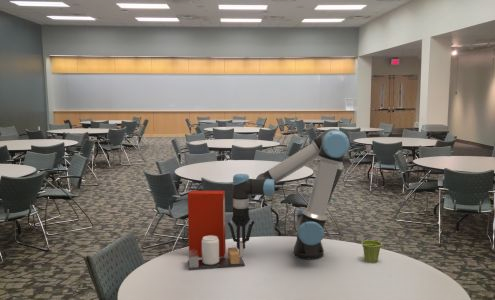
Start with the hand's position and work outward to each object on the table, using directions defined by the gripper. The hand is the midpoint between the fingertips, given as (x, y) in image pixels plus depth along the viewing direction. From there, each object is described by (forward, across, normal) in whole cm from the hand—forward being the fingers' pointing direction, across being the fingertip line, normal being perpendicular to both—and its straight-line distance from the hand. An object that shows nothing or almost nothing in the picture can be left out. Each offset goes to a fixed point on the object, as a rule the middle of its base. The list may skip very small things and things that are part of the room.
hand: (240, 255), depth 222 cm
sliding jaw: (+2, +4, 0) cm, 4 cm away
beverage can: (+3, +14, 0) cm, 15 cm away
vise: (+4, +12, 0) cm, 13 cm away
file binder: (+4, +15, -15) cm, 21 cm away
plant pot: (+3, -62, +9) cm, 63 cm away
